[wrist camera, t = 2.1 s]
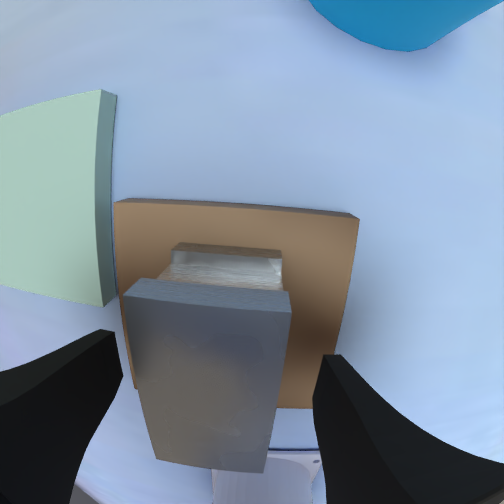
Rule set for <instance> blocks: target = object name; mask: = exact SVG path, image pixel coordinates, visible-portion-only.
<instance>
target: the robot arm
mask: <svg viewBox="0 0 504 504" xmlns="http://www.w3.org/2000/svg"><path fill="white" fill-rule="evenodd" d="M122 378H123V372H122V368H121V363H120V358H119V353H118V348H117V343H116V338H115V332H112V331H107V330H102V329H99V330H97V331H94V332H92V333H90V334H88V335H86V336H84V337H82V338H80V339H78V340H76V341H74V342H72V343H70V344H68V345H66V346H64V347H62V348H60V349H58V350H56V351H54V352H51V353H49V354H47V355H45V356H42V357H40V358H38V359H36V360H33V361H31V362H29V363H26V364H23V365H21V366H18V367H15V368H12V369H9V370H5V371H1V372H0V504H69V502H70V498H71V494H72V489H73V486H74V482H75V479H76V476H77V473H78V470H79V467H80V464H81V461H82V459H83V456H84V453H85V451H86V448H87V446H88V444H89V442H90V440H91V438H92V437H93V435H94V433H95V431H96V429H97V428H98V426H99V424H100V422H101V421H102V419H103V417H104V416H105V414H106V412H107V410H108V409H109V407H110V405H111V403H112V401H113V400H114V398H115V396H116V393H117V391H118V388H119V386H120V383H121V380H122ZM312 404H313V418H314V426H315V431H316V436H317V441H318V446H319V451H268V453H267V458H266V463H265V467H264V472H263V473H246V472H234V471H224V470H216V469H211V472H212V486H213V502H212V504H313V498H312V488H311V484H312V482H313V480H314V478H315V476H316V474H317V472H318V470H319V468H320V466H321V464H322V466H323V471H324V477H325V484H326V501H327V504H499V503H501V502H502V501H503V500H504V464H503V463H500V462H496V461H492V460H489V459H485V458H482V457H478V456H475V455H472V454H470V453H467V452H465V451H463V450H460V449H458V448H456V447H453V446H451V445H449V444H447V443H445V442H443V441H442V440H440V439H438V438H436V437H434V436H433V435H431V434H429V433H428V432H426V431H424V430H423V429H421V428H420V427H418V426H417V425H415V424H414V423H413V422H411V421H410V420H408V419H407V418H406V417H404V416H403V415H402V414H401V413H399V412H398V411H397V410H396V409H395V408H393V407H392V406H391V405H390V404H389V403H388V402H387V401H385V400H384V399H383V398H382V397H381V396H380V395H379V394H378V393H377V392H376V391H375V390H374V389H373V388H372V387H371V386H370V385H369V384H368V383H367V382H366V381H365V380H364V379H363V378H362V377H361V376H360V375H359V374H358V373H357V372H356V370H355V369H354V368H353V367H352V366H351V365H350V364H349V363H348V362H347V361H346V360H345V359H344V357H343V356H342V355H330V354H323V357H322V362H321V366H320V370H319V374H318V377H317V381H316V385H315V389H314V393H313V396H312Z"/></svg>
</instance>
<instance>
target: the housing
mask: <svg viewBox="0 0 504 504" xmlns="http://www.w3.org/2000/svg"><path fill="white" fill-rule="evenodd" d="M281 268H282V254H281V250H276V249H263V248H250V247H237V246H224V245H211V244H198V243H185V242H179V243H178V244H177V245H176V246H175V247H174V248H173V249H172V250H171V264H170V265H169V266H168V267H167V268H166V269H165V270H164V271H163V272H162V273H161V274H160V275H159V277H158V278H157V279H148V278H140V279H139V280H138V281H137V282H136V283H135V284H134V285H133V286H132V287H131V288H130V289H129V290H127V291H126V292H125V293H124V294H123V303H124V311H125V319H126V326H127V333H128V340H129V346H130V352H131V358H132V363H133V368H134V373H135V378H136V383H137V388H138V393H139V397H140V401H141V406H142V410H143V414H144V418H145V422H146V425H147V429H148V433H149V436H150V440H151V443H152V447H153V450H154V453H155V456H156V459H159V460H163V461H168V462H173V463H178V464H183V465H189V466H195V467H201V468H208V469H216V470H224V471H234V472H246V473H263V472H264V467H265V463H266V458H267V453H268V448H269V443H270V438H271V433H272V428H273V423H274V418H275V412H276V407H277V402H278V396H279V390H280V385H281V379H282V373H283V367H284V361H285V355H286V348H287V342H288V335H289V329H290V322H291V315H292V311H291V305H290V299H289V293H288V291H284V290H283V283H282V276H281Z"/></svg>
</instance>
